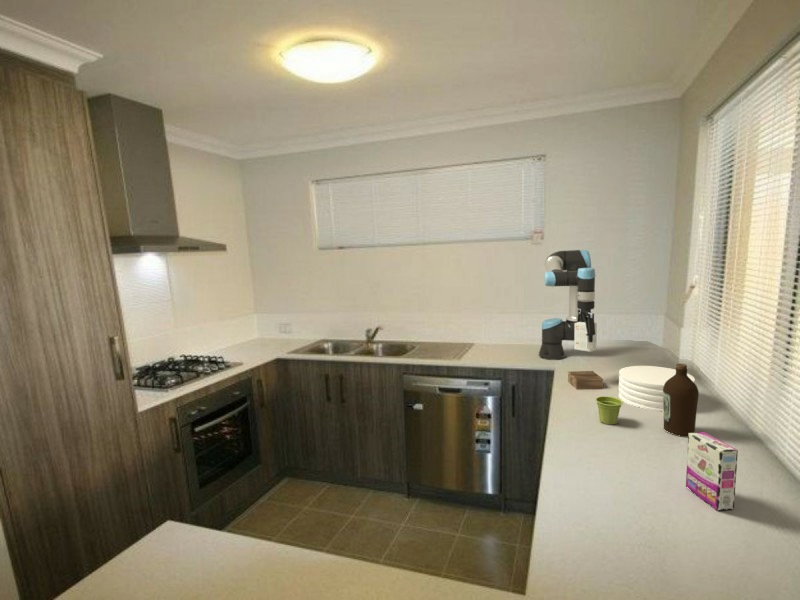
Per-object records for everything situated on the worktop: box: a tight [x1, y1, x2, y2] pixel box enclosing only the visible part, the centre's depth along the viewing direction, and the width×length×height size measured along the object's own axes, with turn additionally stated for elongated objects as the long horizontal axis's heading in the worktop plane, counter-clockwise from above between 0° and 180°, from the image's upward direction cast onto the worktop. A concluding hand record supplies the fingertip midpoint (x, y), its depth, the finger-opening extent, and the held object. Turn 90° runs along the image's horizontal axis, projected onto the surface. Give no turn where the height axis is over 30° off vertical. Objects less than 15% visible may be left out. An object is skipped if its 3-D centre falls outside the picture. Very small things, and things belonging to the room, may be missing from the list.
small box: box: [573, 322, 598, 353], centre depth 202 cm, size 8×6×13 cm
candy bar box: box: [685, 431, 739, 511], centre depth 112 cm, size 11×5×16 cm, turn 5°
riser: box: [567, 370, 604, 390], centre depth 204 cm, size 12×12×5 cm
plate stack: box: [618, 365, 696, 412], centre depth 182 cm, size 28×28×12 cm
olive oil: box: [663, 363, 700, 437], centre depth 151 cm, size 11×11×25 cm
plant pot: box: [595, 395, 624, 425], centre depth 162 cm, size 9×9×9 cm
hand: (585, 346), depth 202 cm, fingers closed on small box, 10 cm apart
